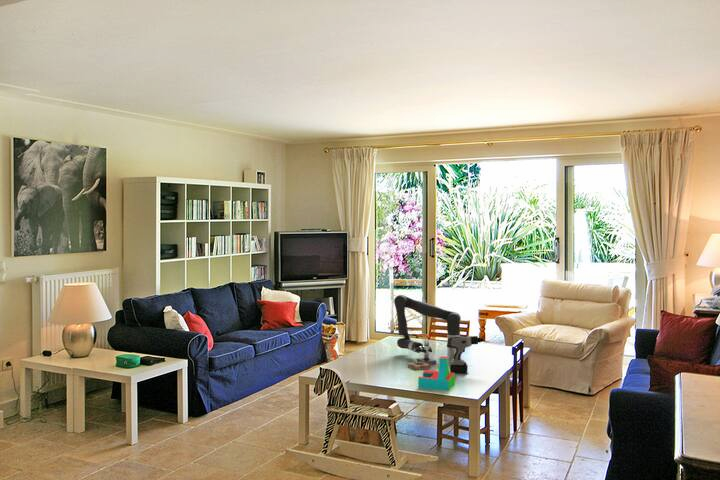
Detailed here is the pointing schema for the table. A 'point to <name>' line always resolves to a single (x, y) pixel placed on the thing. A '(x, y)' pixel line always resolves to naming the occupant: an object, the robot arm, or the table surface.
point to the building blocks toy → (438, 377)
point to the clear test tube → (426, 347)
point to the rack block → (419, 365)
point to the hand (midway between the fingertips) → (428, 351)
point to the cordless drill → (461, 351)
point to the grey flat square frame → (427, 361)
